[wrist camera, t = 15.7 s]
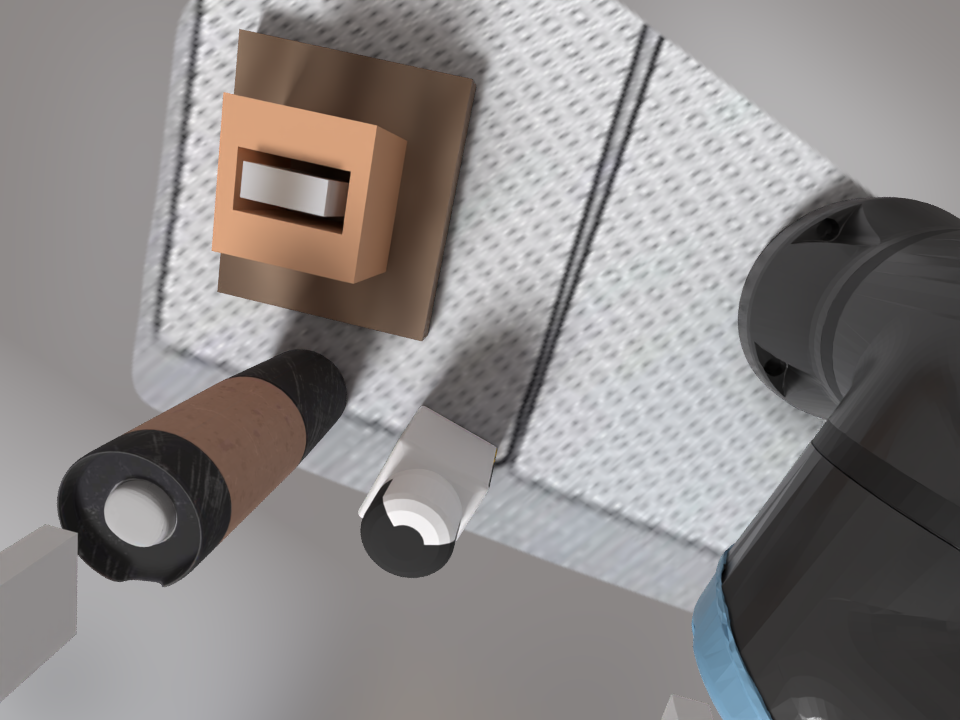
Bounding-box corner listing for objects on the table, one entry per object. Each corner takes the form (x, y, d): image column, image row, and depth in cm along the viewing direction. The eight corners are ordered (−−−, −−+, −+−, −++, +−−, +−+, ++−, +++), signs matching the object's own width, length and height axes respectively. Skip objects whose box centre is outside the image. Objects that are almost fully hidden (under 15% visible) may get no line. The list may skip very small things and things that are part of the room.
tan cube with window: (407, 140, 37) (376, 125, 31) (386, 271, 40) (353, 283, 33) (280, 113, 38) (223, 92, 31) (267, 244, 40) (211, 250, 34)
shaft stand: (476, 86, 38) (452, 43, 28) (427, 335, 43) (393, 371, 33) (254, 38, 39) (158, -19, 29) (231, 288, 44) (143, 309, 34)
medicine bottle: (457, 513, 47) (427, 612, 35) (383, 471, 46) (329, 557, 35) (499, 446, 45) (482, 528, 33) (422, 402, 44) (378, 469, 33)
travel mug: (302, 326, 44) (112, 414, 25) (369, 395, 45) (237, 533, 26) (242, 386, 46) (24, 511, 27) (308, 451, 47) (142, 618, 28)
